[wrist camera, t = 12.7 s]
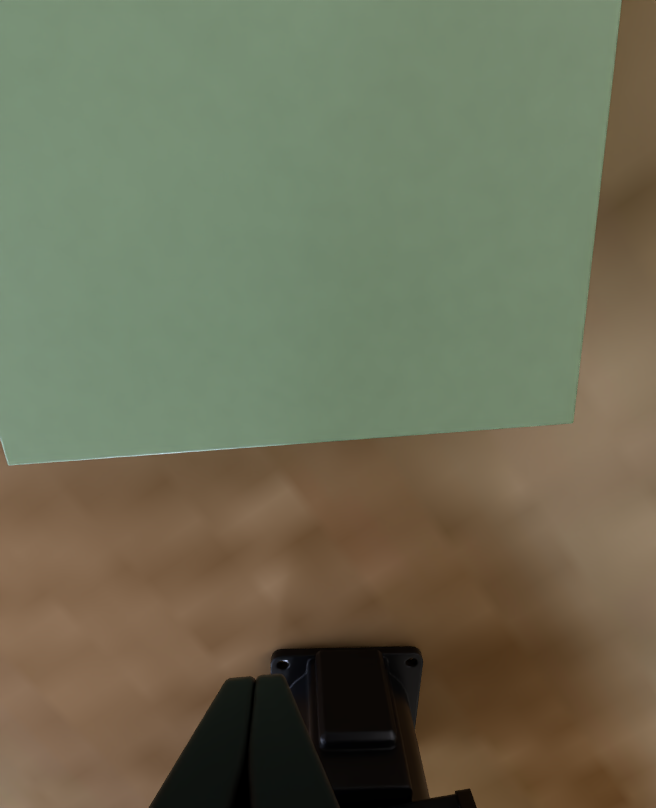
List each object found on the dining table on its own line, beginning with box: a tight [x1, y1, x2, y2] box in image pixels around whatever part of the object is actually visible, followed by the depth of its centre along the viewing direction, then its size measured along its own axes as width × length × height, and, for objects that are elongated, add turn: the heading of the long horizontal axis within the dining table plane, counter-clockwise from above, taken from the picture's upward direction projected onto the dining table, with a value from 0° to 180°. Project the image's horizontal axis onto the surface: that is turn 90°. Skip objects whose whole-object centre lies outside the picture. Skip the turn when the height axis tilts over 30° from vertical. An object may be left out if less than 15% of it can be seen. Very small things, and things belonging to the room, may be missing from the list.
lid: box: [0, 0, 622, 465], centre depth 12 cm, size 14×14×1 cm
